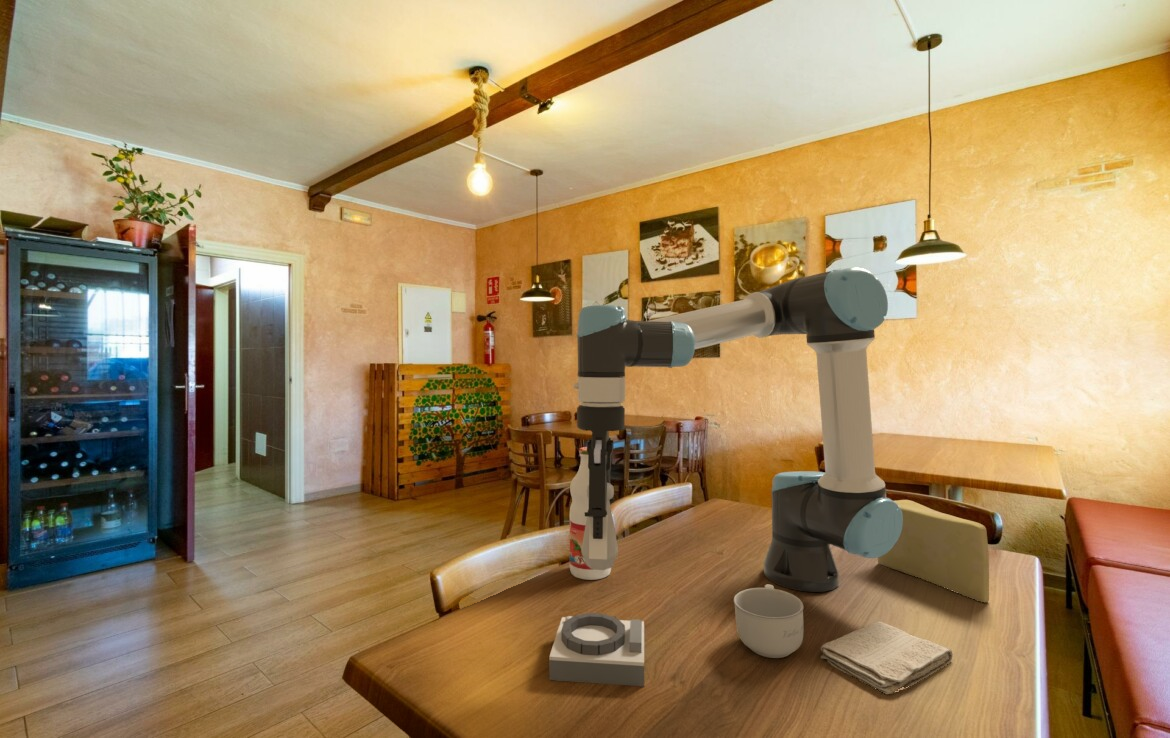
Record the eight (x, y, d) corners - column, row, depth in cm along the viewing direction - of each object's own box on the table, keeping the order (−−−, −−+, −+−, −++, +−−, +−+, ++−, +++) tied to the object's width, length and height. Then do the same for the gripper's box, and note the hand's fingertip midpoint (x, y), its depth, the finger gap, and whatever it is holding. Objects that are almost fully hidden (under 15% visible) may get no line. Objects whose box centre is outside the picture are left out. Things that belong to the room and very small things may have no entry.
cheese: (1005, 600, 102) (1006, 525, 102) (968, 607, 99) (968, 529, 99) (908, 559, 123) (908, 497, 123) (875, 564, 121) (875, 500, 120)
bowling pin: (615, 574, 78) (615, 488, 78) (578, 570, 79) (578, 486, 79) (620, 559, 84) (620, 480, 84) (585, 557, 85) (586, 478, 85)
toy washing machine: (644, 642, 87) (644, 612, 87) (644, 686, 75) (644, 652, 75) (562, 637, 89) (562, 608, 88) (549, 680, 77) (549, 646, 77)
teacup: (796, 675, 78) (796, 622, 78) (725, 653, 83) (725, 604, 83) (811, 633, 90) (811, 587, 89) (748, 617, 95) (748, 574, 95)
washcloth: (815, 661, 82) (815, 642, 82) (878, 630, 91) (878, 613, 91) (892, 703, 72) (892, 681, 72) (954, 664, 81) (954, 644, 81)
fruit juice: (612, 581, 111) (612, 451, 111) (568, 581, 111) (568, 451, 111) (610, 564, 121) (610, 444, 120) (570, 564, 121) (570, 444, 121)
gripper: (583, 399, 91) (582, 530, 91) (569, 408, 72) (568, 573, 73) (626, 400, 90) (625, 532, 90) (622, 409, 72) (621, 575, 72)
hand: (599, 550), depth 82 cm, fingers closed on bowling pin, 6 cm apart
